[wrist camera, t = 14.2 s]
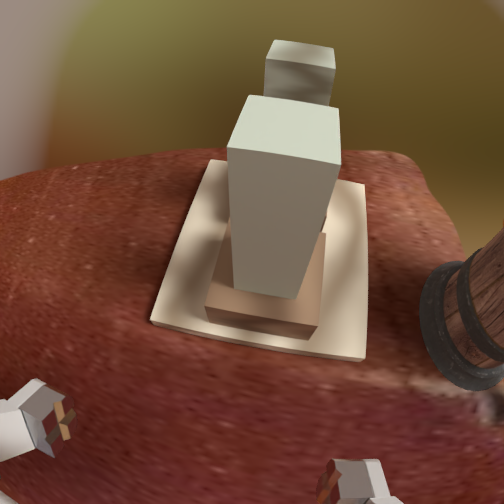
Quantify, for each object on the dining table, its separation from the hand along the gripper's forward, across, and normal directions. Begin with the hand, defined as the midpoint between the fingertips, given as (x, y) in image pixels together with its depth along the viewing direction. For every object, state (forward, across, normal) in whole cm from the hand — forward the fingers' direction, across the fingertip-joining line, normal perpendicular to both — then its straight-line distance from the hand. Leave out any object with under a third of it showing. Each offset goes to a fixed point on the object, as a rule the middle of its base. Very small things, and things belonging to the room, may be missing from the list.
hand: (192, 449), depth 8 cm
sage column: (+19, -2, -1) cm, 19 cm away
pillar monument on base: (+27, -2, -1) cm, 27 cm away
